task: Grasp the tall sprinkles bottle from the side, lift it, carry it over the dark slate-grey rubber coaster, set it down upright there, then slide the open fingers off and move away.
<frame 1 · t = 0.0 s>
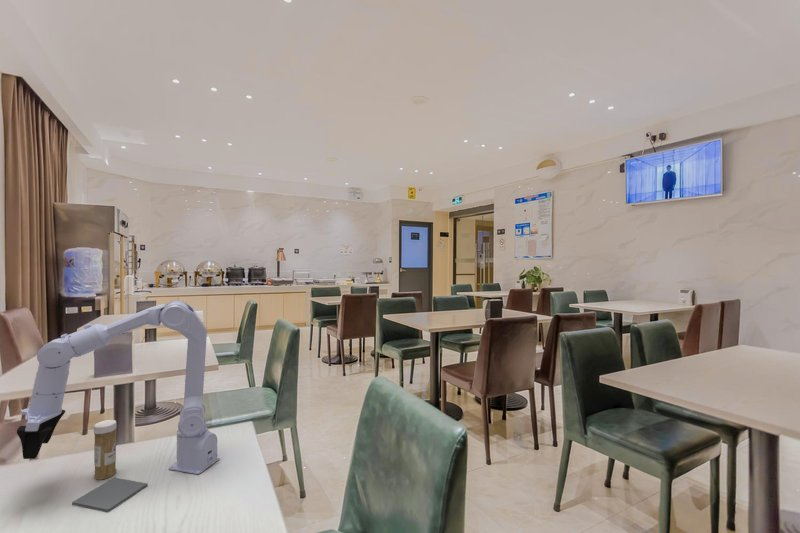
hand: (36, 450, 89), 11 cm above the table, tool pointing down, fingers open, 7 cm apart
coaster: (111, 494, 90), on the table
sprinkles bottle: (105, 476, 98), on the table
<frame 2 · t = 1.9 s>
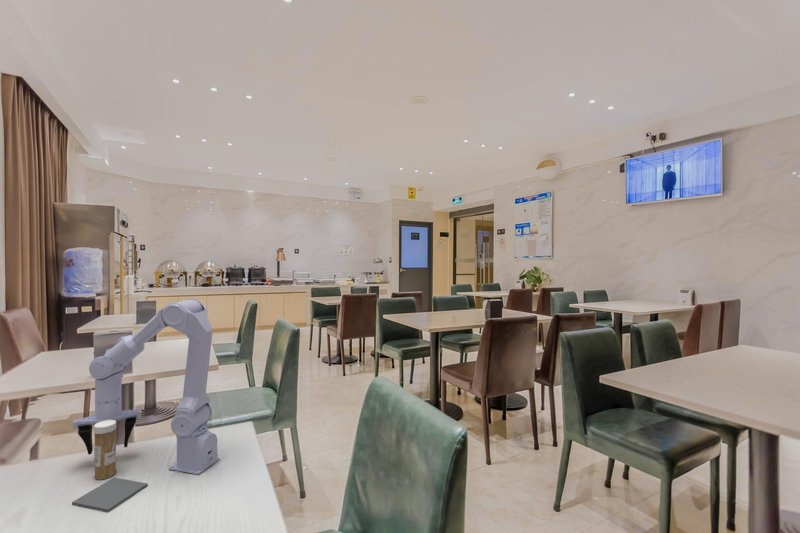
hand: (108, 449, 104), 3 cm above the table, tool pointing down, fingers open, 7 cm apart
nothing on the table moved.
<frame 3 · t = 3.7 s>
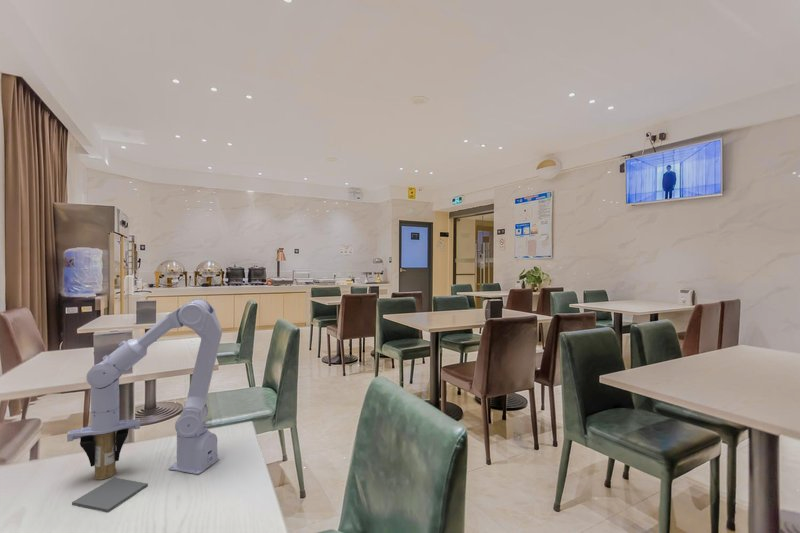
hand: (105, 461, 98), 3 cm above the table, tool pointing down, fingers closed on sprinkles bottle, 4 cm apart
sprinkles bottle: (105, 476, 98), on the table, touching gripper
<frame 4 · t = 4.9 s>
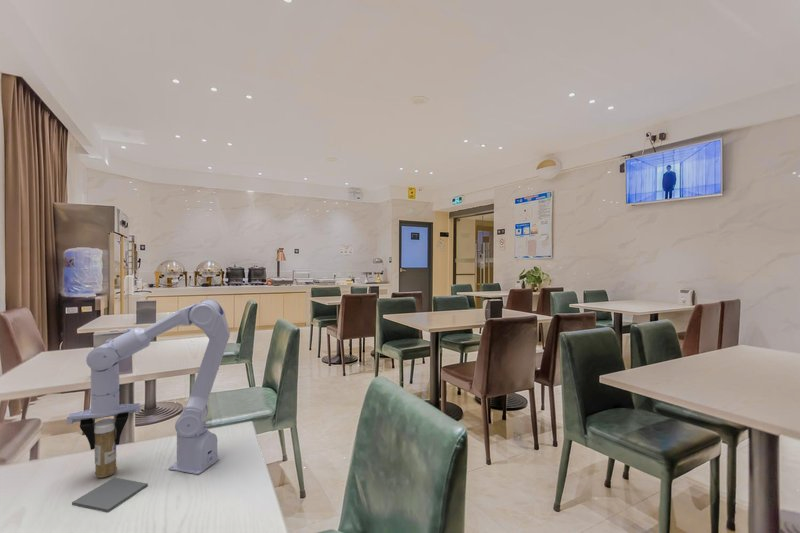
hand: (105, 445, 98), 8 cm above the table, tool pointing down, fingers closed on sprinkles bottle, 4 cm apart
sprinkles bottle: (105, 473, 98), on the table, touching gripper
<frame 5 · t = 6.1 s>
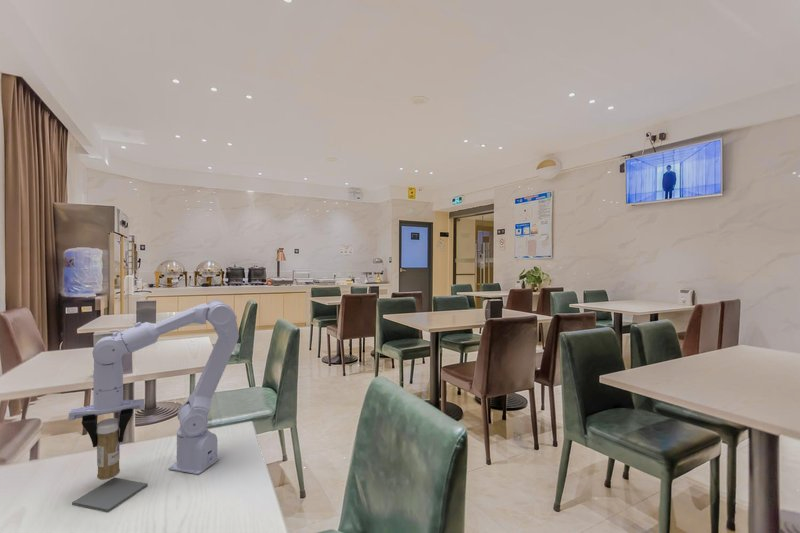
hand: (108, 442, 94), 10 cm above the table, tool pointing down, fingers closed on sprinkles bottle, 4 cm apart
sprinkles bottle: (108, 475, 94), point 2 cm above the table, touching gripper
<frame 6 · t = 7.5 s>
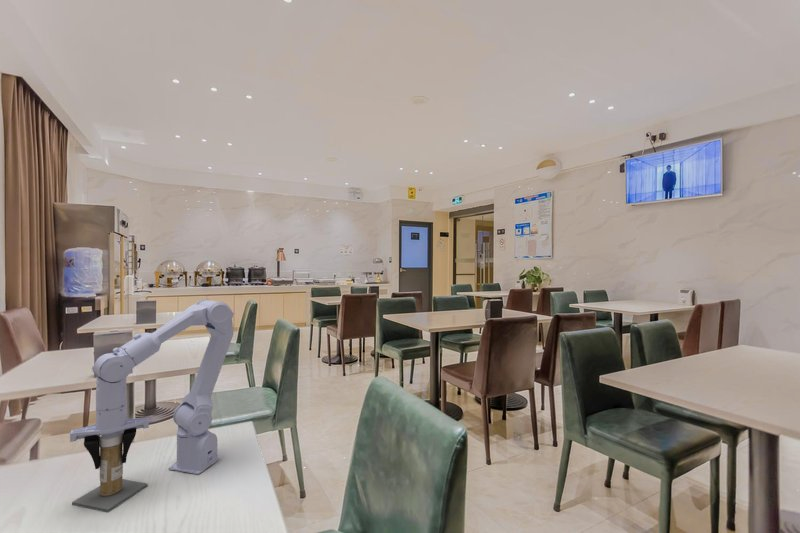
hand: (111, 464, 90), 7 cm above the table, tool pointing down, fingers closed on sprinkles bottle, 4 cm apart
sprinkles bottle: (111, 491, 91), resting on coaster, touching gripper
when the fingers open (5 cm above the table, at t = 8.5 s): sprinkles bottle stays where it is, resting on coaster.
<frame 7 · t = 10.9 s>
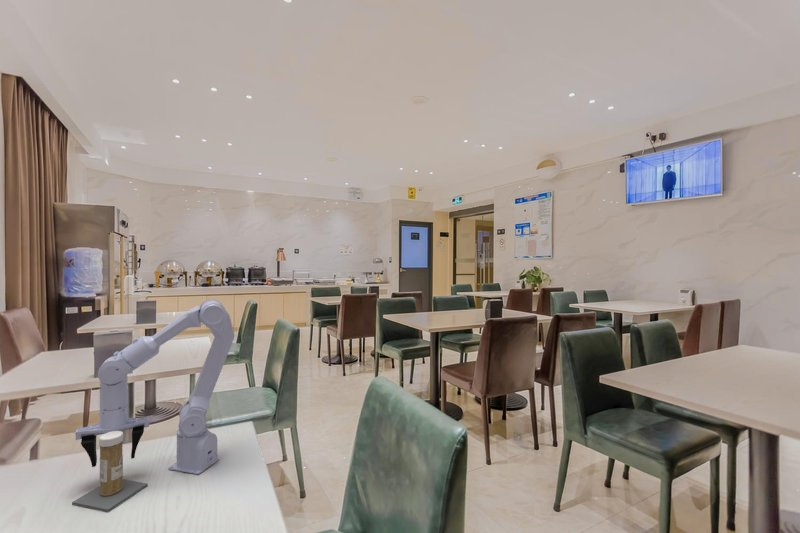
hand: (114, 460, 96), 5 cm above the table, tool pointing down, fingers open, 7 cm apart
sprinkles bottle: (111, 491, 91), resting on coaster
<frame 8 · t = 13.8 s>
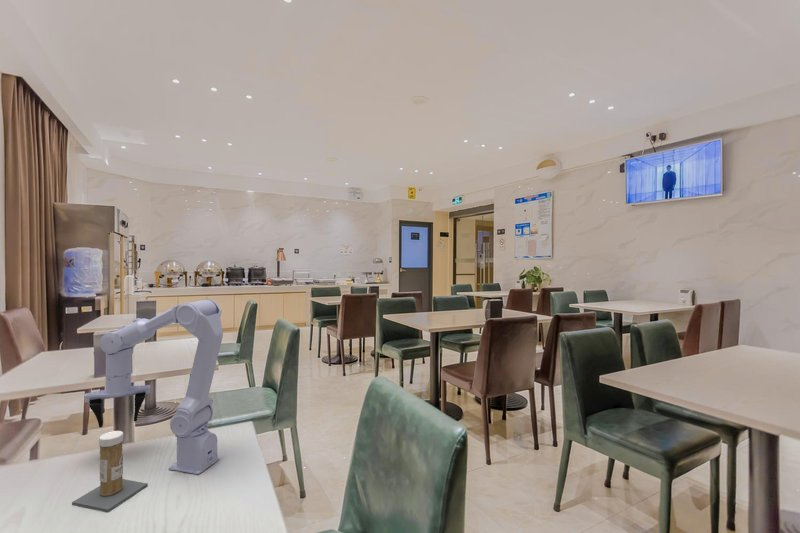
hand: (118, 423, 107), 9 cm above the table, tool pointing down, fingers open, 7 cm apart
nothing on the table moved.
at the end: sprinkles bottle 0.6 cm off-centre on the coaster, point 0.4 cm above the coaster's base; sprinkles bottle tilted 0°; the gripper is holding nothing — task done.
